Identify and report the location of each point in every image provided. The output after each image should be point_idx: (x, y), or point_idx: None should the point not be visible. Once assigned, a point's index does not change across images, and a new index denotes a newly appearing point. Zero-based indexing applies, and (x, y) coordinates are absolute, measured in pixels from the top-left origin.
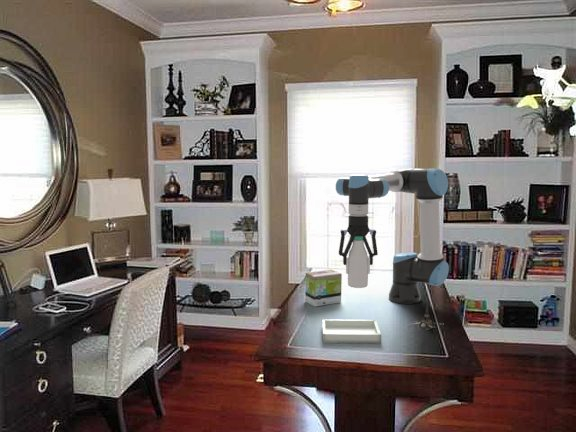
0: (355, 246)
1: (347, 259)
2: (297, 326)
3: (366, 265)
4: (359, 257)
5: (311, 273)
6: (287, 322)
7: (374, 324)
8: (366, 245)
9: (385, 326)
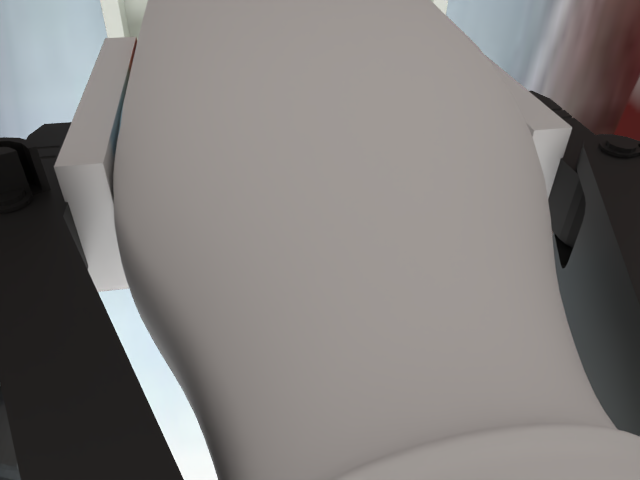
0: (524, 282)
1: (534, 110)
2: (542, 61)
3: (147, 36)
4: (328, 9)
5: None
6: (575, 112)
7: (122, 18)
8: (111, 402)
9: (64, 93)
